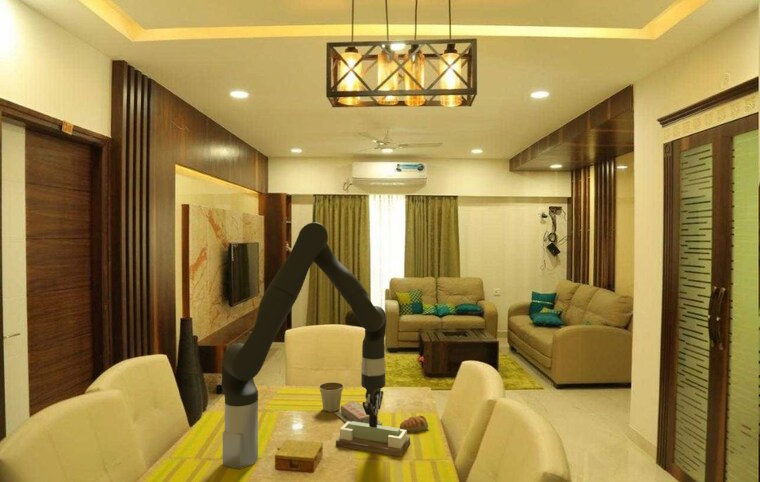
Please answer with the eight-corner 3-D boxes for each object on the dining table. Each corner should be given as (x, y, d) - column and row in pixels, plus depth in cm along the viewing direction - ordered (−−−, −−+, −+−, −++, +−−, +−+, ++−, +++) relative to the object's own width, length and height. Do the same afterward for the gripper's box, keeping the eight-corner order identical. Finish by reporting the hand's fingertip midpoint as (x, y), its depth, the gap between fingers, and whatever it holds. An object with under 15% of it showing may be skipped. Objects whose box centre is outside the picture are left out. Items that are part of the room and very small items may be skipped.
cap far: (351, 440, 142) (351, 430, 142) (339, 438, 143) (339, 428, 143) (359, 432, 148) (359, 422, 148) (347, 430, 149) (347, 421, 149)
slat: (397, 444, 139) (397, 431, 139) (349, 436, 145) (349, 424, 145) (399, 441, 142) (400, 428, 142) (352, 433, 147) (352, 421, 147)
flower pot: (327, 415, 166) (327, 391, 166) (314, 408, 173) (314, 385, 173) (348, 409, 171) (348, 386, 171) (334, 402, 179) (334, 380, 179)
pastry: (406, 435, 150) (406, 423, 150) (395, 428, 156) (395, 416, 156) (430, 429, 154) (430, 418, 154) (419, 422, 160) (419, 411, 160)
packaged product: (383, 413, 156) (357, 419, 151) (383, 427, 156) (357, 433, 151) (359, 397, 172) (334, 402, 167) (359, 410, 172) (334, 415, 167)
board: (400, 456, 135) (400, 451, 135) (335, 445, 142) (335, 440, 142) (409, 442, 144) (409, 437, 144) (348, 432, 151) (348, 428, 151)
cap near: (400, 448, 137) (400, 438, 137) (388, 446, 138) (388, 436, 138) (406, 439, 143) (406, 430, 143) (394, 437, 144) (394, 428, 144)
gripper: (369, 364, 150) (369, 416, 151) (354, 375, 138) (354, 433, 138) (391, 366, 148) (391, 419, 148) (377, 378, 136) (377, 436, 136)
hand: (373, 426), depth 143 cm, fingers closed
